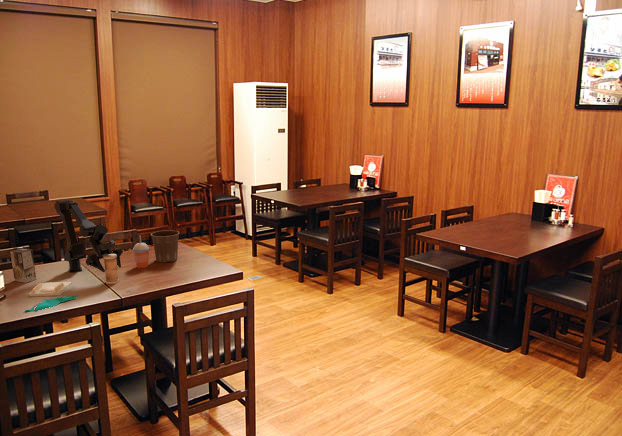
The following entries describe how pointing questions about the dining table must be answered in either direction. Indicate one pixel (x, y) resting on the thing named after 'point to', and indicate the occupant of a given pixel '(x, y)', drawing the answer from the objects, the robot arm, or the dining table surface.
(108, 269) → the bobbin
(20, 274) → the coffee box
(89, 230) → the robot arm
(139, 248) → the cup with straw
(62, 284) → the cream square tray
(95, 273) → the dining table surface
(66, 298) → the cloth
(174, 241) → the plant pot
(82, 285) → the dining table surface
